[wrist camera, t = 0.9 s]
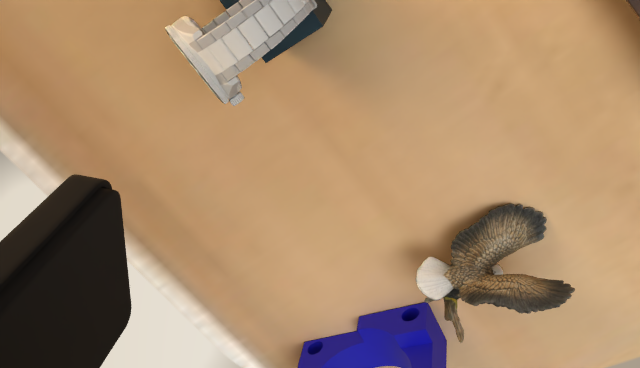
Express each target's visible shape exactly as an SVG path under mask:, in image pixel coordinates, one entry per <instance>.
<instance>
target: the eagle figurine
mask: <svg viewBox="0 0 640 368" xmlns="http://www.w3.org/2000/svg"><path fill="white" fill-rule="evenodd" d="M545 223H546V218H545V217H543V213H542V212H536V211H535V209H534V208H531V207H528V208H525V209H523V205H518V206H515V205H514V204H508V205H504V206H502V207H501V206H499V207H497V208H496V209H495V210H491V211H489V213H488V215H485V216H484V217H482V218H481V219H480V220H479V222H476V223H475V224H474V225H471V226H470V227H469V229H464V230H463V231H460V232H459V234H458V235H457V236H456V238H455V239H454V240H453V241H452V245H451V249H452V253H451V255H452V257H453V258H452V259H451V263H452V264H451V265H448V264H446V263H444V262H442V261H440V260H438V259H436V258H434V257H428V258H427V259H425V260H424V262H423V263H422V265H421V266H420V267H419V268H418V269H417V276H416V282H417V286H418V288H419V289H420V290H421V292H422V293H423V294H424V295H426V296H427V297H428V298H426V299H425V303H428V302H431V301H435V300H440V299H442V298H444V303H445V319H446V320H447V321H449V320H450V321H452V322H453V324H454V327H455V329H456V334H457V337H458V339H459V341H460V342H463V339H464V331H463V328H462V326H461V324H460V320H459V317H458V315H457V299H459V298H460V297H461V299H462V301H464V300H465V302H467V303H469V304H471V305H474V306H477V305H479V304H483V303H488V304H493V305H495V306H497V307H499V306H501V307H507V308H508V309H514V310H516V311H517V312H519V313H531V311H533V312H537V311H538V310H539V311H544V310H546V309H552V308H556V307H560V305H561V304H563V303H565V302H566V300H567V299H569V298H570V297H571V296H572V295H571V293H572V292H574V290H575V288H572V287H571V285H570V284H563V282H564V281H559V280H548V279H541V278H536V277H533V276H528V275H523V274H505V275H503V269H502V268H501V267H500V266H499V265H495V264H496V263H497V262H499V261H500V260H501V259H503V258H504V257H506V256H508V255H510V254H512V253H513V252H515V251H517V250H518V249H520V248H522V247H524V246H527V245H530V244H532V243H535V242H537V241H540V240H542V239H543V238H544V234H543V233H544V231H545V230H546V227H545V226H544V224H545Z"/></svg>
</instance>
